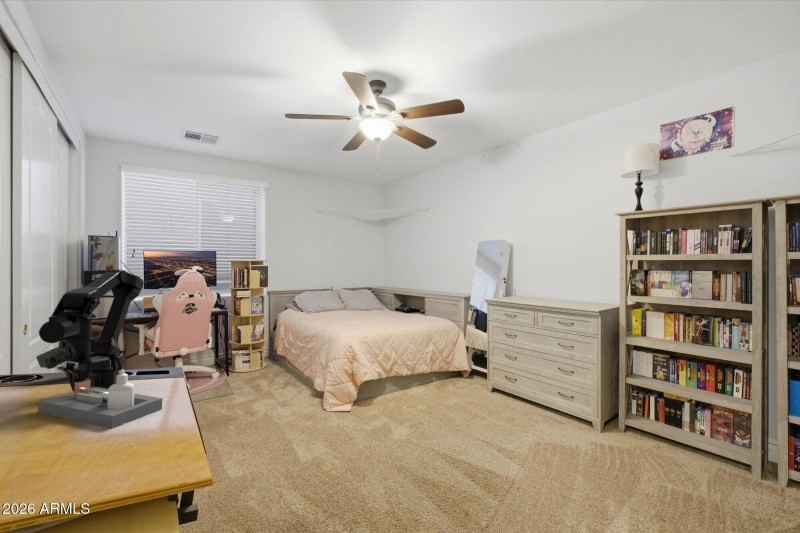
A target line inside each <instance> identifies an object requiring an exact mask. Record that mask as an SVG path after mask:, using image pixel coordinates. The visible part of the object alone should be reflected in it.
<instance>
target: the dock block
mask: <svg viewBox="0 0 800 533" xmlns="http://www.w3.org/2000/svg"><path fill="white" fill-rule="evenodd" d="M90 390H96V391H102V392H107V393H108V389H106V388H100V387H95V386H93V387H90ZM74 393H75V392H74V391H71V392H67V393H63V394H60V395H59V394H58V395H55V396H52V397H49V398H46V399H42V400H38V405H37V413H38V414H44V415H49V416H53V417H56V418H57V417H58V418H62V419H68V420H71V421H77V422H81V423H86V424H90V425H94V426H99V427H104V428H109V429H114V428H116V427H119V426H121V424H122V425H124V424H123V423H125V422H127V423H129V422H128V421H130V422H132V421H135V420H138V419H140V418H143V417H145V416H147V415H150V414H153V413H156V412H158V411H160V410H162V409H163V397H158V396H157V397H156V396H151V395H145V394H140V393H136V392H134V406H131V407H128V408H125V409H122V410H119V411H113V410H108V409H107V403H108V401H106V400H103V397H100V396H95V395H89V394H84V393H77V394H76V397H74ZM134 419H135V420H134ZM131 420H132V421H131ZM125 424H126V423H125Z"/></svg>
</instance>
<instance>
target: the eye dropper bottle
mask: <svg viewBox="0 0 800 533" xmlns="http://www.w3.org/2000/svg"><path fill="white" fill-rule="evenodd" d="M128 375H129V374H127V373H126V372H125V370H124V369H123V370H120V371H119V373H118V375H117V377H116V383H117V384H114V385H112V386H110V387H109V389H108V403H107V409H108V410H113V411H119V410H122V409H125V408H128V407H131V406H134V393H135V385H134V384H133V383H132V382H128V380H129V376H128Z"/></svg>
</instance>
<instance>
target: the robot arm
mask: <svg viewBox="0 0 800 533" xmlns="http://www.w3.org/2000/svg"><path fill="white" fill-rule="evenodd" d="M144 286H145V284H144V280H143V279H142V278H141V277H140V276H138V275H137V274H136V275H135V274H133V273H129V272H127V270H123V269H107V270H105V271H104V273H103V274H102V275H100V276H98V277H97V278H96V279H94V280H93V281H91V282H90V283H88V284H87V285H85V286H84V287H80V288H79V287H78V288H75V289H71V290H69V291H67V292H65V293H64V294H63V295H62V296H61V298H60V299H59V302H58V303H57V305H56V307H55V308H54V311H53V312H52V315H51V316H49V317H48V321H47V322H45V323H43V324H42V325H41V326H40V328H39V330H38V334H39V335H38V336H39V338H40V339H41V340H42V341H43V342H45V343H49V344H55V343H58V347H55V348H52V349H50V350H47V351H45V352H43V353H40V354H39V355H36V357H35V358H36V360H37V363H38V365H39V368H44V369H48V370H50V369H54V368H56V369H57V370H59V371H61V372H63V373H64V374H65V375H66V377H67V380H68V382H69V385H70V388H71V392H75V382H78V381H82V380H86V379H87V378H89V379H88V380H91V384H90V387H93V386H95V387H100V388H106V389H109V387H110V386H112V385H114V384H117V383H116V377H117V375H119V372H120V371H121V370H124V368H125V363H126V361H125V360H124V358H123V357H122V355H121V348H120V347H121V346H120V344H119V342H118V341H119V338H120V334H121V332H122V329H123V326H124V323H125V320H126V318H127V315H128V311H129V308H130V306H131V302H133V301H134V300H135V299H136V298H138V297H139V296H140V294H141V292H142V289H143V288H144ZM110 291H111V293H112V295H113V300H112V303H111V305H110V307H109V309H108V313H107V316H106V319H105V321H104V323H103V326H102V328H103V329H102V332H101V334H100V337H99V339H97V340H96V341H95V339H93V338H91V331H92V325H93V319H96V318H97V315H96V314H94V313H93V312H94V311H95V310H96V309H97V308H98V306H100V304H101V298H102V297H103V296H105V295H106V294H107V293H108V292H110ZM90 372H91V377H87V376H88V375H89V373H90Z"/></svg>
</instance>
